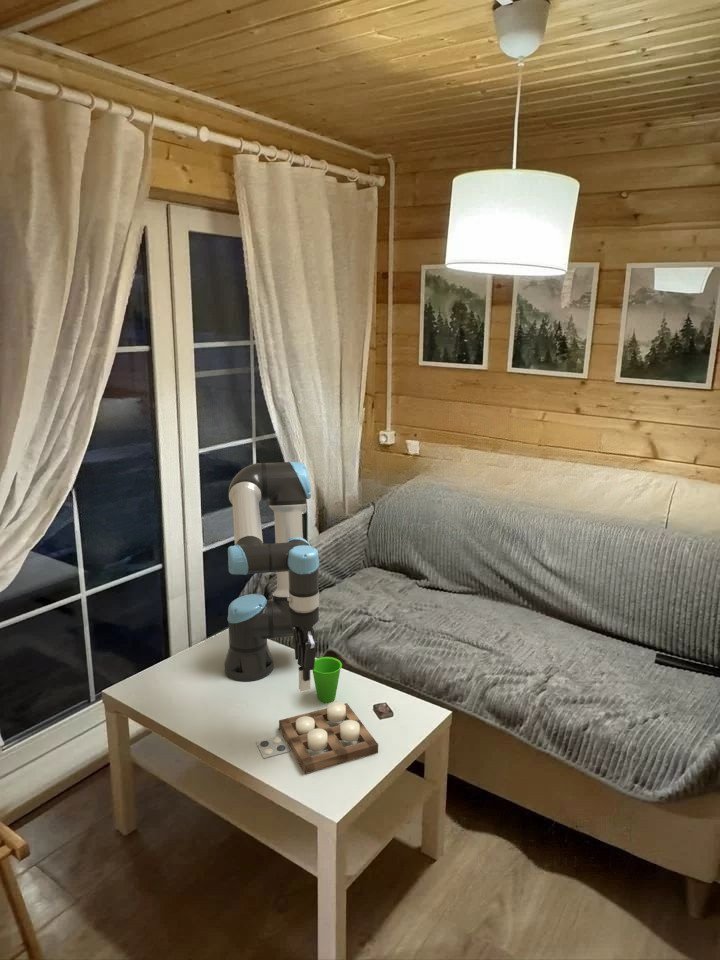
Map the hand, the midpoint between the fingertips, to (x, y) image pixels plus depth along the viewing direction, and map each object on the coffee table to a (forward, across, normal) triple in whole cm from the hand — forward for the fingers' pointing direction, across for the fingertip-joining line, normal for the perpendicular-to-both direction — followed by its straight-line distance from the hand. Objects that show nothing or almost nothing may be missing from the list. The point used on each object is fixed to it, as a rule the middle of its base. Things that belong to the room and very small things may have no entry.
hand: (304, 688), depth 179 cm
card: (+14, +2, -10) cm, 17 cm away
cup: (+14, -13, +11) cm, 22 cm away
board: (+14, +5, +4) cm, 15 cm away
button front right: (+11, +9, 0) cm, 14 cm away
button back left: (+11, 0, +9) cm, 14 cm away
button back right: (+13, 0, 0) cm, 13 cm away
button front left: (+11, +9, +9) cm, 17 cm away
